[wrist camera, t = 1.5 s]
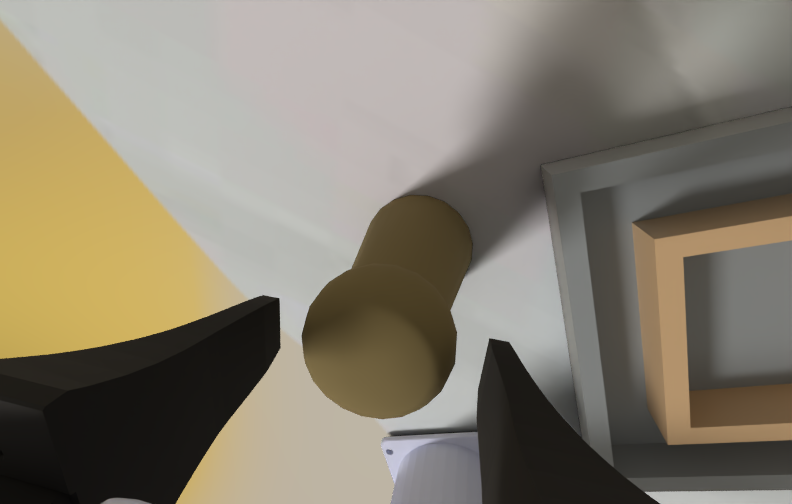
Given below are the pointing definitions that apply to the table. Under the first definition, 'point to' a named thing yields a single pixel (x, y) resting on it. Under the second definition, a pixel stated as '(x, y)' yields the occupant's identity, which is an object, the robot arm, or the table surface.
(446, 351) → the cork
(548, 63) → the table surface
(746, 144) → the tray
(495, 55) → the table surface
